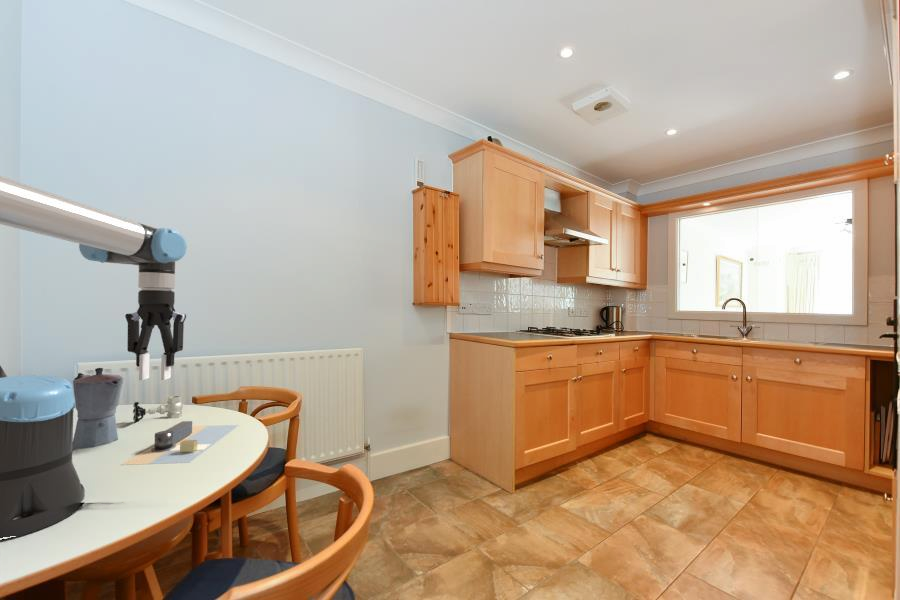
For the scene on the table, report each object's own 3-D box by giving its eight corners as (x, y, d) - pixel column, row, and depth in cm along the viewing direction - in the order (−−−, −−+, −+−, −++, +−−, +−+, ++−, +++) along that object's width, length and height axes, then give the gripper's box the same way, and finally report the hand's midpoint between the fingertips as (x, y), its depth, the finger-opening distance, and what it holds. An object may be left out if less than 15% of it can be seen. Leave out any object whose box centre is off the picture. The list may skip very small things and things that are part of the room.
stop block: (193, 452, 90) (193, 442, 90) (179, 453, 90) (180, 442, 90) (197, 450, 92) (197, 439, 92) (183, 450, 91) (184, 440, 91)
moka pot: (96, 457, 90) (98, 372, 90) (46, 451, 93) (48, 369, 93) (137, 442, 99) (138, 366, 99) (90, 437, 102) (92, 363, 102)
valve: (180, 414, 124) (132, 421, 116) (180, 393, 124) (133, 400, 116) (184, 418, 120) (135, 427, 111) (184, 397, 120) (135, 404, 111)
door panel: (189, 467, 85) (189, 461, 85) (120, 470, 83) (120, 463, 83) (239, 429, 110) (239, 424, 110) (187, 430, 109) (187, 425, 109)
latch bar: (167, 449, 91) (167, 435, 91) (150, 450, 90) (151, 435, 90) (194, 432, 102) (194, 420, 102) (179, 433, 102) (180, 420, 102)
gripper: (200, 290, 104) (198, 376, 104) (130, 289, 102) (128, 376, 102) (184, 290, 97) (183, 381, 96) (108, 288, 94) (106, 382, 94)
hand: (155, 378), depth 99 cm, fingers open, 4 cm apart
